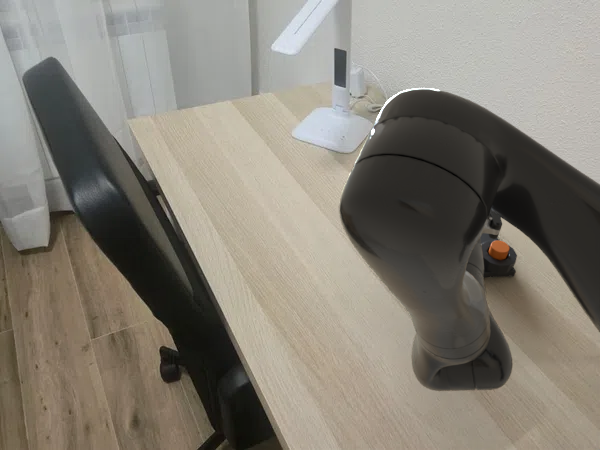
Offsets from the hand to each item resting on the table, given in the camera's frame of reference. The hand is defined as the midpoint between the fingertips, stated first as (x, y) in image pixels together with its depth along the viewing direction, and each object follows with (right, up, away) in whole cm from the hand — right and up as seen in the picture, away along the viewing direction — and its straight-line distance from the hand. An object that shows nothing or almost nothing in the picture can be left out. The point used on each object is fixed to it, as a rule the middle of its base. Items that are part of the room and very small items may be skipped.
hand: (447, 184), depth 86 cm
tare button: (+8, -11, +2) cm, 14 cm away
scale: (+2, -10, +7) cm, 12 cm away
